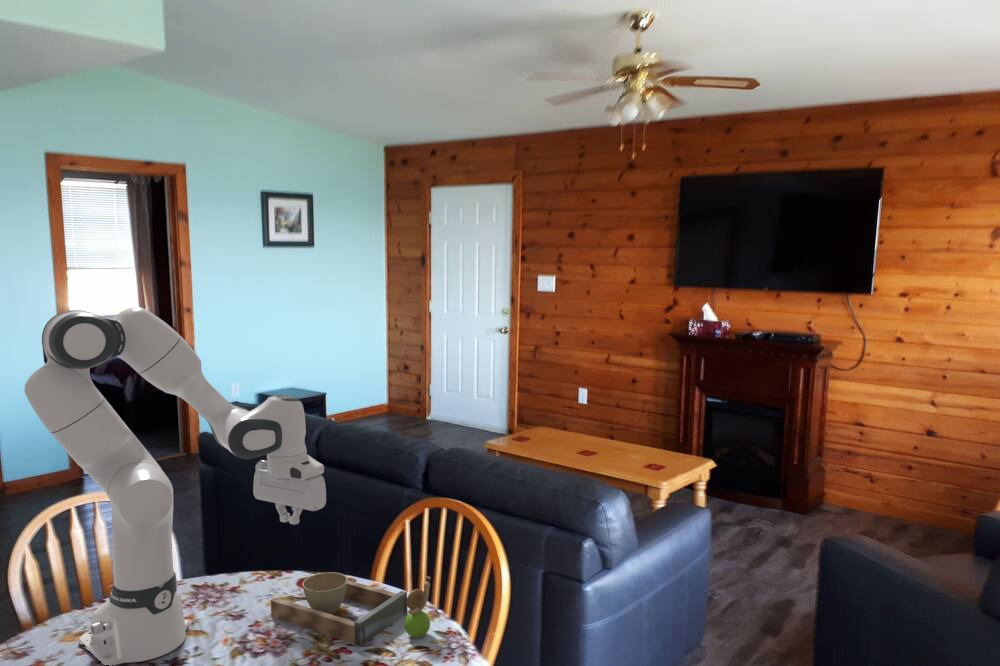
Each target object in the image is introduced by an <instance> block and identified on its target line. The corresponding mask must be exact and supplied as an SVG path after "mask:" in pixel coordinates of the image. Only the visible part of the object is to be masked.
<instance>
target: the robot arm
mask: <svg viewBox="0 0 1000 666" xmlns="http://www.w3.org/2000/svg"><path fill="white" fill-rule="evenodd" d="M41 345H42V353H43V354H42V355H43V356H42V357H43V363H44V365H43V366H41V367H40V368H38V369H36V370H35V371H34V372H33V373H32V374H31V375H30V376H29V378H28V379H27V380H26V383H25V384H24V393H25V394H24V395H25V397H26V398H27V401H28V402H29V405H30V406H31V407H32V410H33V411H34V413H35V414H36V415H37V417H38V419H39V420H40V421H41V423H42V424H43V426H44V427H45V428H46V429H47V430H48V432H49V433H50V434H51V435H52V436H53V437H54V439H55V440H56V441H57V442H58V443H59V444H60V445H61V447H62V448H63V449H64V450H65V452H66V453H67V455H69V456H70V458H71V459H72V460H73V461H74V463H76V464H77V466H79V467H80V468H81V469H82V470H83V471H84V472H85V473H86V474H88V476H89V477H90V478H91V479H92V481H94V482H95V483H96V484H97V486H98V487H99V488H101V490H102V491H103V492H104V493H105V495H106V496H107V498H108V499H109V504H110V507H111V523H112V524H111V525H112V528H111V529H112V533H111V535H112V539H111V541H112V542H111V543H112V544H111V550H112V551H111V553H112V554H111V555H112V568H113V571H112V572H113V581H111V582H109V583H107V585H109V586H108V587H107V589H108V590H109V589H111V590H110V594H109V597H108V598H109V599H107V600H106V601H105V602H104V603H103V604H101V605H100V606H99V607H98V608H97V609H95V611H93V614H92V615H91V621H90V623H91V625H90V628H89V630H87V631H85V632H84V633H83V634H82V635H81V636H80V637H79V638H78V642H79V641H80V642H81V643H83V644H84V645H85V646H86V647H87V648H88V649H89V650H90V651H91V652H92V653H93V654H94V655H95V656H96V657H97V658H98V660H99V661H101V663H102V664H101V663H100V664H101V665H103V664H104V665H109V666H112V665H113V666H116V665H121V664H127V663H140V662H146V661H149V660H153V659H156V658H160V657H162V656H165V655H167V654H168V653H171V652H172V651H174V650H176V649H177V648H179V646H181V645H182V644H183V643H184V641H186V640H185V639H186V638H187V637H186V636H187V634H186V631H187V630H188V628H189V627H190V621H189V620H188V619H186V618H185V615H184V613H185V612H184V608H183V602H182V596H181V593H180V592H179V591H178V586H177V584H178V579H177V574H176V572H175V571H174V560H173V559H174V557H173V542H172V541H173V540H172V538H173V537H172V536H173V534H172V533H173V522H174V521H173V520H174V489H173V485H172V483H171V480H170V479H169V477H168V476H167V475H166V473H165V471H163V469H162V467H161V466H160V464H158V462H157V461H156V460H155V458H154V457H153V456H152V455H151V453H150V451H148V449H147V448H146V447H145V446H144V444H142V442H141V441H140V440H139V439H138V438H137V436H136V435H135V434H134V433H133V431H132V430H131V429H130V428H129V427H128V426H127V424H126V422H125V421H123V419H122V418H121V417H120V415H119V414H118V413H117V411H116V410H115V409H114V408H113V406H112V405H111V404H110V403H109V401H107V399H106V397H104V395H103V394H102V393H101V391H100V390H99V389H98V388H97V387H96V385H95V384H94V382H93V380H92V379H91V374H90V373H91V372H90V370H91V368H95V367H97V366H100V365H103V364H104V363H105V362H108V361H110V360H112V359H113V358H116V357H117V358H119V359H121V360H122V361H124V362H125V363H126V364H127V365H129V367H131V368H132V369H133V370H134V371H135V372H136V373H137V374H138V375H139V376H141V378H143V379H144V380H146V381H147V382H148V383H150V384H151V385H152V386H154V387H156V388H157V389H159V390H160V391H163V392H164V393H165V394H169V395H174V396H177V397H179V398H180V399H182V400H183V401H185V402H186V403H187V404H188V405H189V406H190V407H191V408H193V410H195V411H196V412H197V413H198V414H199V415H200V416H201V417H202V418H203V419H204V420H205V421H206V422H207V423H208V425H209V428H210V430H211V433H212V436H213V438H214V439H215V441H216V442H217V443H218V445H220V447H222V448H223V449H227V450H228V451H229V452H230V453H231V454H233V456H236V457H237V458H240V459H243V460H251V459H256V458H259V457H263V456H266V459H265V460H263V459H260V460H259V461H258V462H257V463H256V464H255V468H254V469H255V472H254V475H253V483H252V484H253V489H252V492H253V496H254V498H255V499H256V500H260V501H265V502H270V503H274V505H275V508H276V511H277V512H278V514H279V521H280V522H281V523H289V524H290V525H294V526H295V525H298V524H300V515H301V513H302V511H303V510H307V511H311V512H315V511H318V510H320V509H323V508H324V507H325V506H326V504H327V503H326V502H327V489H326V487H327V486H326V482H325V478H324V476H323V475H322V474H324V472H325V465H324V464H322V463H321V462H319V461H317V459H314V458H313V457H312V456H310V455H309V454H307V453H308V450H307V446H306V442H305V438H306V434H307V429H306V428H307V427H306V426H307V425H306V417H305V410H304V405H303V402H302V401H300V399H298V398H296V397H294V396H288V395H282V394H278V395H271V396H268V398H266V400H265V401H263V402H262V403H261V404H260V405H258V406H257V407H255V408H253V409H251V410H249V409H247V408H246V407H243V406H239V405H236V404H233V403H231V402H230V401H229V400H227V399H226V398H225V397H224V396H223V395H222V393H220V392H219V391H218V390H217V389H216V388H215V387H214V386H213V385H212V384H211V383H210V382H209V381H208V380H207V379H206V377H205V375H204V373H203V370H202V361H201V359H200V357H199V356H198V355H197V353H196V352H195V350H194V349H193V348H192V347H191V345H190V344H189V343H188V341H186V340H185V338H183V336H181V335H180V334H179V332H177V331H176V330H175V329H174V328H173V327H171V326H170V325H169V324H168V323H167V322H165V321H164V320H162V319H161V318H160V317H158V316H157V315H155V314H154V313H152V312H151V311H150V310H148V309H146V308H143V307H140V306H135V307H130V308H127V309H125V310H122V311H120V312H119V313H117V314H116V315H115V316H114V317H112V318H111V317H105V316H102V315H99V314H96V313H92V312H89V311H86V310H81V309H80V310H79V309H75V310H72V309H71V310H66V311H62V312H60V313H57V314H55V315H54V316H52V317H51V318H50V319H49V320H48V321H47V322H46V324H45V325H44V328H43V329H42V334H41ZM286 506H287V507H291V511H292V512H293V513H292V514H291V513H290V512H288V510H287V508H286ZM89 633H91V634H89ZM98 660H97V661H98ZM99 661H98V662H99ZM104 665H103V666H104Z"/></svg>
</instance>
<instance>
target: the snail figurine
mask: <svg viewBox="0 0 1000 666" xmlns="http://www.w3.org/2000/svg"><path fill="white" fill-rule="evenodd" d="M425 578H426V581H425V582H424V584H423V588H424V589H423V590H422V589H421V588H415V589H413V590H412V591H410V592H409V594H407V609H408V610H407V615H406V617H405V619H404V630H405V632H406V634H407V635H409V637H411V638H415V639H419V638H420V639H421V638H422V637H424V636H426V635H427V633H428V632H429V630H430V628H431V619H430V616H429V615H428V613H426V612H425V611H423V609H424V608H425V607H426V605H427V603H428V600H429V595H430V587H431V583H430V581H431V576H428V575H426V576H425ZM428 580H429V581H428Z"/></svg>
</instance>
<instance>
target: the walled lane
mask: <svg viewBox="0 0 1000 666" xmlns="http://www.w3.org/2000/svg"><path fill="white" fill-rule="evenodd" d="M407 597H408V592H407V591H404V590H400V591H399V592H397V593H396V592H392V591H389V590H385V589H381V588H378V587H374V586H370V585H367V584H364V583H359V582H357V581H356V582H355V581H352V580H349V579H348V583H347V589H346V593H345V596H344V599H343V600H345V601H346V600H347V601H350V602H354V603H357V604H360V605H363V606H364V605H365V606H367V607H371V608H372V610H370V611H369V612H367V613H366V614H364V615H363V616H361V617H360V618H358V619H357V620H355V621H353V620H350V619H347V618H345V617H344V618H343V617H341V616H337V615H335V614H333V615H331V614H328V613H325V612H321V611H318V610H315V609H312V608H311V607H308V606H304V605H301V604H297V603H295V602H292V601H288V600H285V599H283V598H278V597H274V598H272V599H271V600H270V616H271V618H273V619H276V620H278V621H282V622H284V623H288V624H290V625H293V626H296V627H300V628H304V629H306V630H309V631H312V632H315V633H317V634H321V635H324V636H328V637H330V638H334V639H336V640H339V641H343V642H345V643H349V644H352V645H355V646H357V647H362V646H364V645H365V644H367V643H368V642H369V641H371V640H372V639H374V638H375V637H376V636H378V635H379V634H380V633H382V632H383V631H385V630H387V628H389V627H390V626H392V625H393V624H395V623H396V622H397V621H399V620H400V619H402V618H403V617H405V615H406V616H407V615H408V606H407Z"/></svg>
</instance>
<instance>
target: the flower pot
mask: <svg viewBox="0 0 1000 666" xmlns="http://www.w3.org/2000/svg"><path fill="white" fill-rule="evenodd" d="M348 580H349V578H348V577H347V576H346V575H345V574H343V573H340V572H334V571H333V572H331V571H330V572H321V573H317V574H316V573H315V574H313V575H311V576H309V577H307V578H305V579H304V580H303V581H302V590H303V593H304V596H305V599H306V602H307V603H308V606H309V608H312V609H315V610H318V611H321V612H325V613H328V614H331V615H335V614H336V613H337V612H338V610H339V609H340V608H341V606H342V603H343V601H344V600H345V599H344V596H345V593H346V589H347V583H348Z"/></svg>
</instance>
